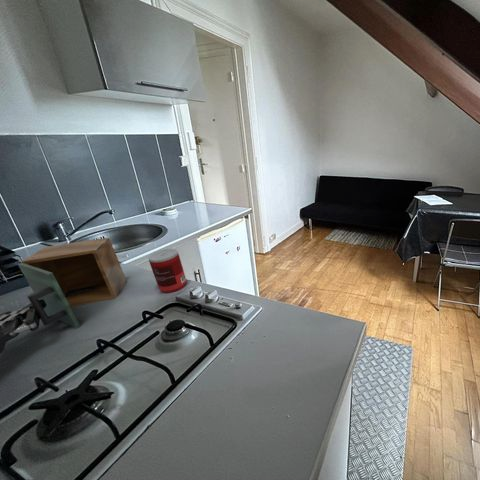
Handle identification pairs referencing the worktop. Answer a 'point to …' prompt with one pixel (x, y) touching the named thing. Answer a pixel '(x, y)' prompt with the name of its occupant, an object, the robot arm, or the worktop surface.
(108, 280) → the cupboard
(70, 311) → the cupboard door
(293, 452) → the worktop surface
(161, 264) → the canned food
